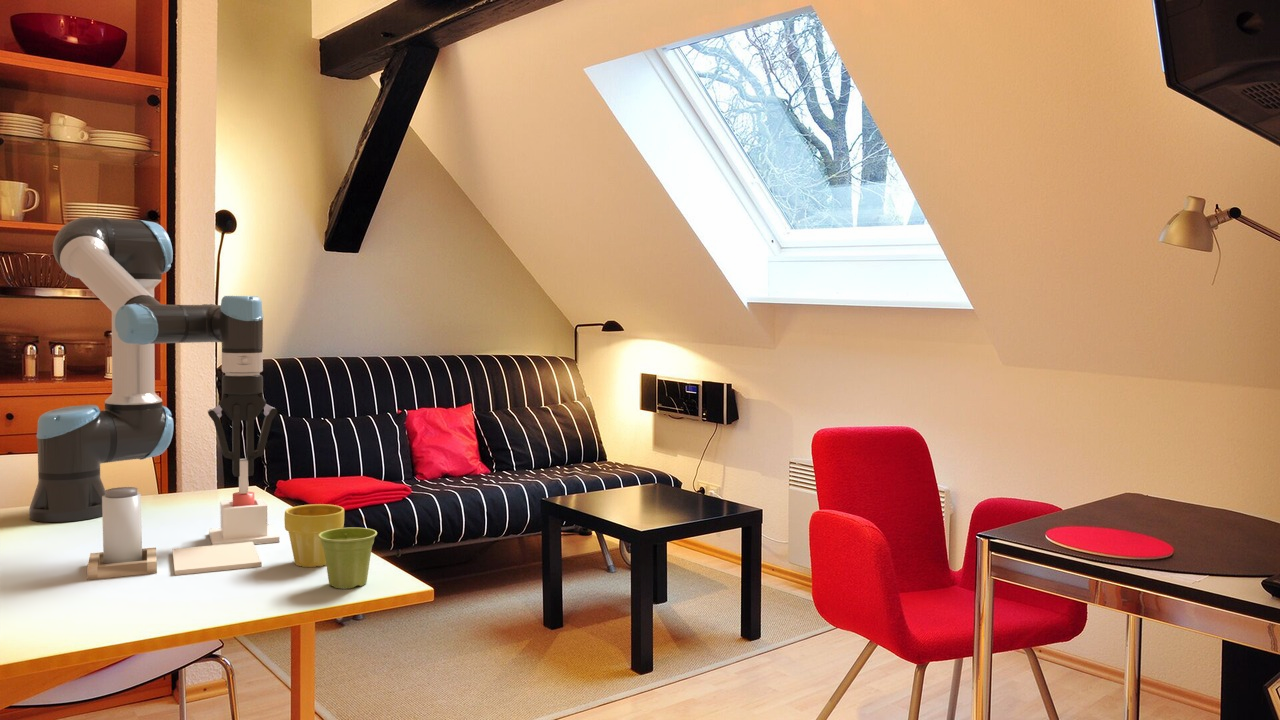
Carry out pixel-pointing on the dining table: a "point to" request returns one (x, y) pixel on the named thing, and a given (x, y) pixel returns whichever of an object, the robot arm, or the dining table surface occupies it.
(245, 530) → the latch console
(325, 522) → the plant pot
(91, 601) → the dining table surface
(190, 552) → the sand mat
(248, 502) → the latch button
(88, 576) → the socket
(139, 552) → the filter cartridge
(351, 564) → the plant pot
